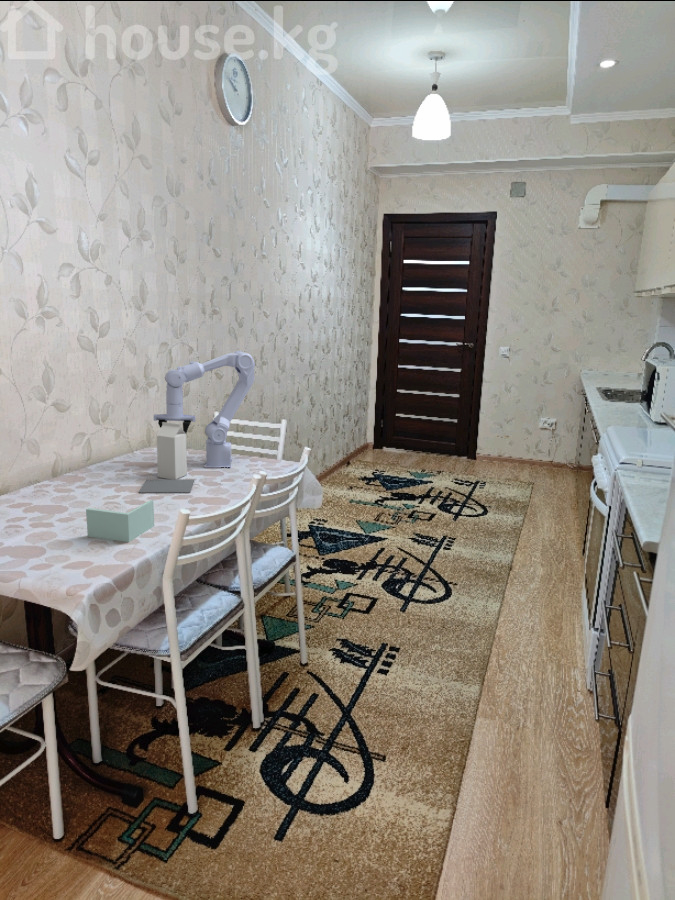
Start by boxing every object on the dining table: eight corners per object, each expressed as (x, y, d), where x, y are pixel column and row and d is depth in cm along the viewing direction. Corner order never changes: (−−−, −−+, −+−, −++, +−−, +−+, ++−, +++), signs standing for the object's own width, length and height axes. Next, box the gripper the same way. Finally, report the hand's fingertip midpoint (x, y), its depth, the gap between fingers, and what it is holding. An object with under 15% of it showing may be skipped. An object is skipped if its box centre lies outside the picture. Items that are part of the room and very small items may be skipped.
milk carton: (175, 480, 203) (174, 425, 198) (157, 477, 205) (156, 423, 200) (187, 475, 209) (186, 422, 205) (169, 472, 211) (168, 420, 207)
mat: (194, 480, 203) (194, 479, 203) (190, 493, 190) (190, 491, 190) (146, 480, 201) (146, 479, 201) (138, 493, 188) (138, 492, 187)
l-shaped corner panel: (154, 526, 161) (153, 500, 159) (129, 542, 150) (128, 514, 148) (115, 521, 164) (113, 495, 162) (87, 536, 152) (85, 509, 151)
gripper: (196, 402, 217) (196, 438, 220) (155, 400, 215) (156, 437, 218) (194, 405, 210) (194, 442, 213) (152, 404, 208) (152, 441, 211)
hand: (174, 440), depth 215 cm, fingers open, 6 cm apart
